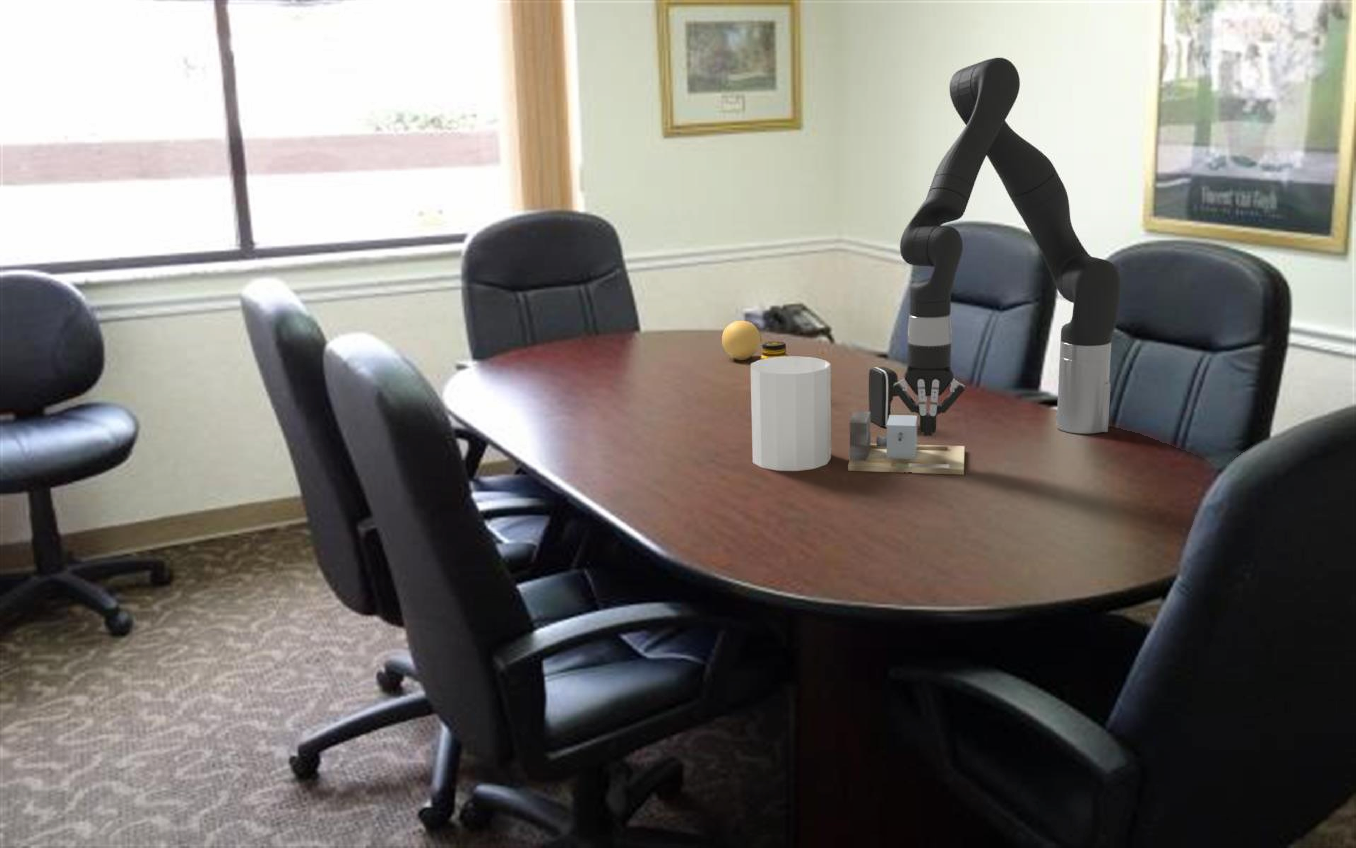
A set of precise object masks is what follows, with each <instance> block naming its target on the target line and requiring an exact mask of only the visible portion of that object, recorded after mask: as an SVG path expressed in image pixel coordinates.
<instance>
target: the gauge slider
mask: <svg viewBox="0 0 1356 848" xmlns="http://www.w3.org/2000/svg"><path fill="white" fill-rule="evenodd" d="M875 444H877V446H881V447H887V458H895V459H915V458H916V452H917V445H918V415H915V414H913V415H911V414H910V415H909V414H907V415H905V414H904V415H903V414H902V415H901V414H891V415H889V419H888V422H887V427H886V436H876V443H875Z"/></svg>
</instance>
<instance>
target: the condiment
mask: <svg viewBox="0 0 1356 848" xmlns="http://www.w3.org/2000/svg"><path fill="white" fill-rule="evenodd" d="M761 348H762V350H761V352H762V353H761V354H762V355H760V356H761V357H760V360H761V359H767V358H773V357H788V354H787V344H786V343H785V342H783V341H776V340H774V341H766V342H763V343H762V345H761Z"/></svg>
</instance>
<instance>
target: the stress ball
mask: <svg viewBox="0 0 1356 848" xmlns="http://www.w3.org/2000/svg"><path fill="white" fill-rule="evenodd" d="M761 342H762V335H761V332H760V331H759V329H758V328H757V325H756V324H755V323H753V322H751V321H750V322H749V321H747V320H741V319H740V320H735V321H733V322H731V323H729V324H728V325H727V326H726V327H725V328H724V330H723V332H722V336H721V344H722V347H723V350H724V351H725V352H726V353H727V354H728V355H729V357H732V358H733V359H735V360H737V361H747V360H748V359H749V358H750V357H752V356H754V355H755V354H756V353H757V351H758V350H759V348H760V345H761Z"/></svg>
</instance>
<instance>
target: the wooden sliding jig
mask: <svg viewBox="0 0 1356 848" xmlns="http://www.w3.org/2000/svg"><path fill="white" fill-rule="evenodd" d="M849 421H850V422H849V462H848V465H847V467H848V468H847V471H852V472H873V473H874V472H881V473H882V472H883V473H904V472H906V474H907V473H908V472H912V474H913V473H914V474H932V475H933V474H940V475H941V474H943V475H965V474H964V473H965V472H964V471H965V445H941V444H939V445H934V444H917V452H916V458H915V459H895V458H887V447H881V446H877V444H876V443H871V420H870V412H869V411H857V410H855V411H853V412H852V416H851V419H850V420H849ZM908 474H909V473H908Z"/></svg>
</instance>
